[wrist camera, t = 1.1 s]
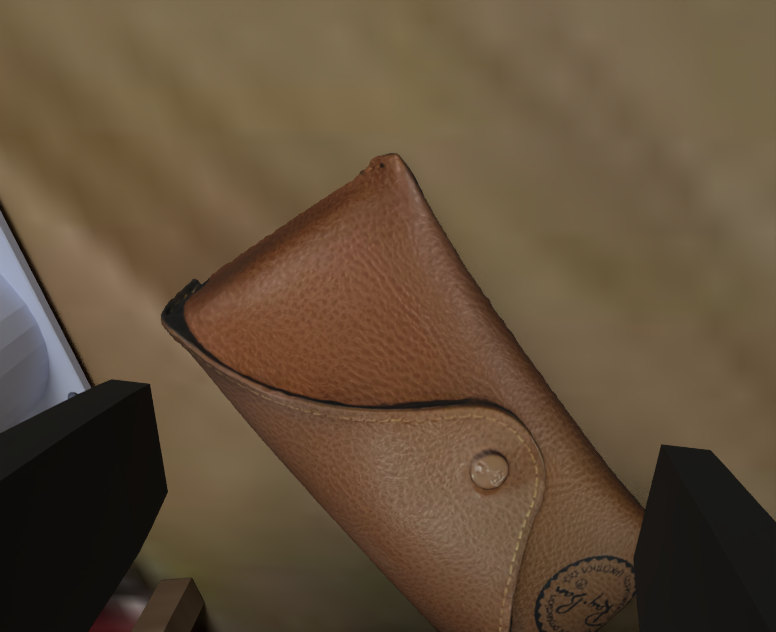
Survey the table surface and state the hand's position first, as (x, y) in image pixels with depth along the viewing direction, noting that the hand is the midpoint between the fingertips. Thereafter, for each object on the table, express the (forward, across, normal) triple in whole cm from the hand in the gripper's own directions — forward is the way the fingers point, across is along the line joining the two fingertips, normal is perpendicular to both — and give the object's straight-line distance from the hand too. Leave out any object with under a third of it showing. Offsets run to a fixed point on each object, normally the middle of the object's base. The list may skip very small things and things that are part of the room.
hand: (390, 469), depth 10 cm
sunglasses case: (+11, 0, +7) cm, 13 cm away
